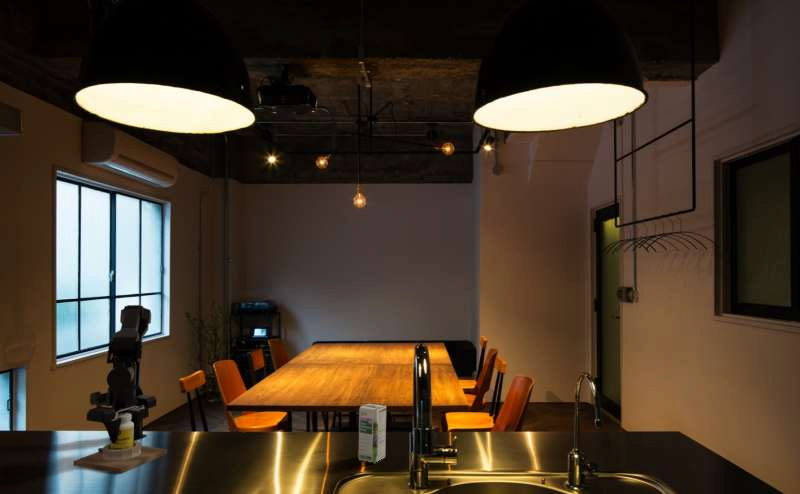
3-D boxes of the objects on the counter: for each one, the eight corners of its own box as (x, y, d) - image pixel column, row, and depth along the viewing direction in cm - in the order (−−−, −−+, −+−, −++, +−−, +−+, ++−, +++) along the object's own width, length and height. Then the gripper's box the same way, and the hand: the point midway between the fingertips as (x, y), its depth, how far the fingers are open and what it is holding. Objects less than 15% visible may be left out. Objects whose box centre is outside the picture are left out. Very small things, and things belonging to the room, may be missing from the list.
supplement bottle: (108, 455, 146) (109, 418, 146) (113, 448, 151) (114, 412, 151) (130, 453, 147) (132, 416, 147) (134, 447, 152) (136, 411, 153)
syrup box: (357, 460, 151) (358, 406, 151) (368, 454, 156) (369, 402, 156) (375, 464, 148) (376, 409, 148) (386, 457, 153) (386, 405, 154)
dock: (121, 447, 159) (122, 434, 159) (166, 453, 154) (167, 440, 154) (72, 465, 144) (73, 451, 144) (120, 473, 139) (121, 458, 139)
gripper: (128, 373, 161) (126, 427, 160) (71, 386, 143) (69, 446, 143) (158, 376, 157) (157, 431, 157) (104, 390, 140) (102, 452, 139)
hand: (122, 439), depth 149 cm, fingers closed on supplement bottle, 5 cm apart
